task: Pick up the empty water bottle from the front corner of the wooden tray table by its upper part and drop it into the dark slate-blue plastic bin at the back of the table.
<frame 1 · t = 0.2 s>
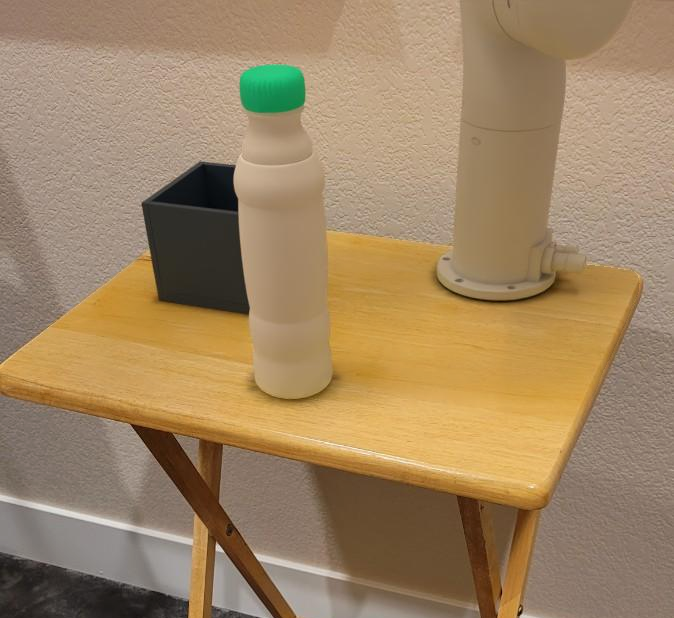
water bottle: (294, 383, 80), on the table
bin: (237, 283, 95), on the table
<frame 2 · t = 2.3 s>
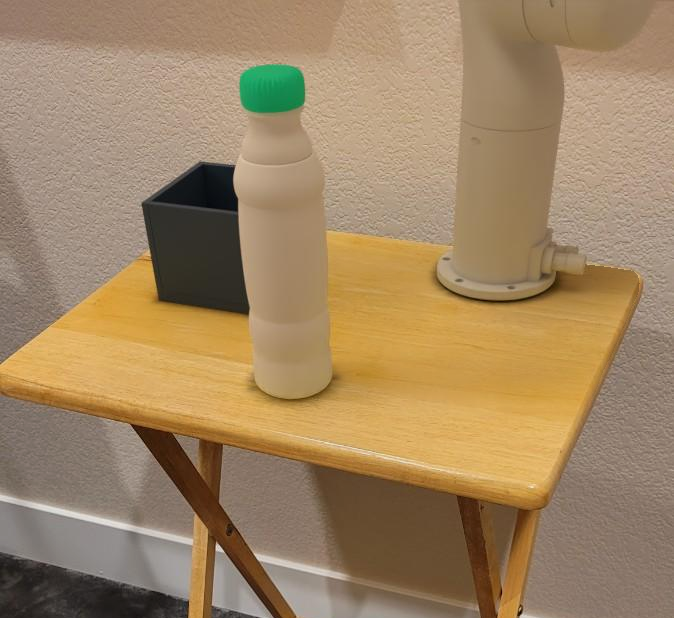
nothing on the table moved.
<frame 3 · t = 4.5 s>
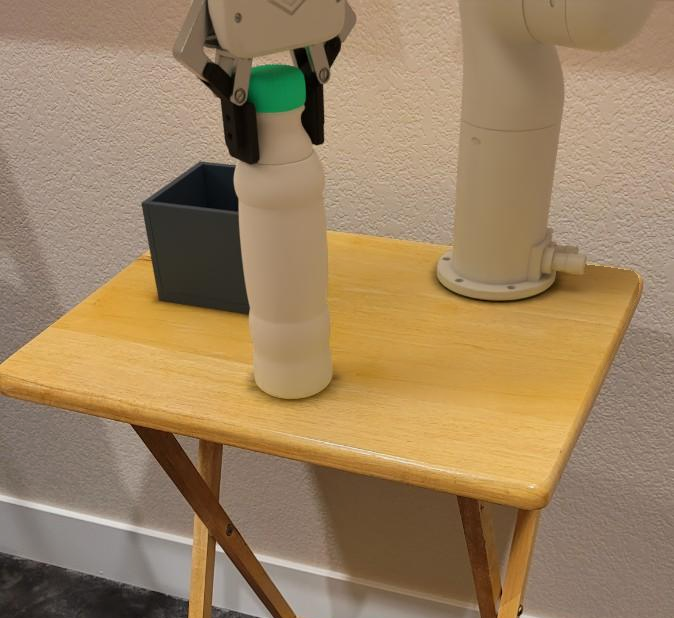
hand: (276, 147, 66), 20 cm above the table, tool pointing down, fingers closed on water bottle, 5 cm apart
water bottle: (294, 383, 80), on the table, touching gripper
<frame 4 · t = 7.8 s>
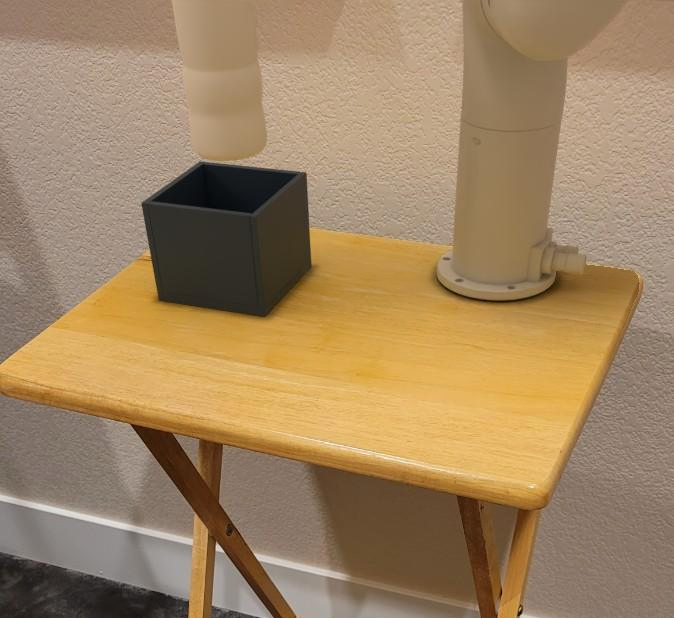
water bottle: (230, 152, 83), point 14 cm above the table, touching gripper
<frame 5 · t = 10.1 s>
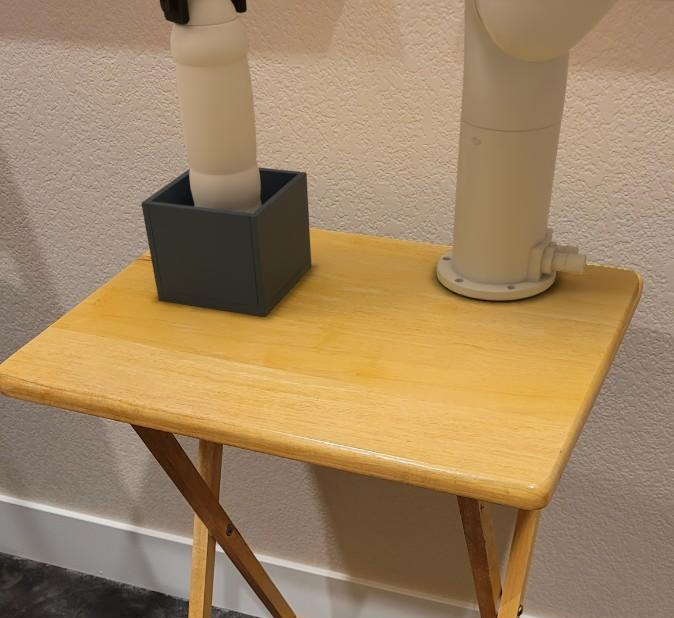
hand: (206, 13, 78), 25 cm above the table, tool pointing down, fingers closed on water bottle, 5 cm apart
water bottle: (231, 240, 92), point 5 cm above the table, touching gripper
when the fingers open (21 cm above the table, at t = 11.5 s): water bottle stays where it is, resting on bin.
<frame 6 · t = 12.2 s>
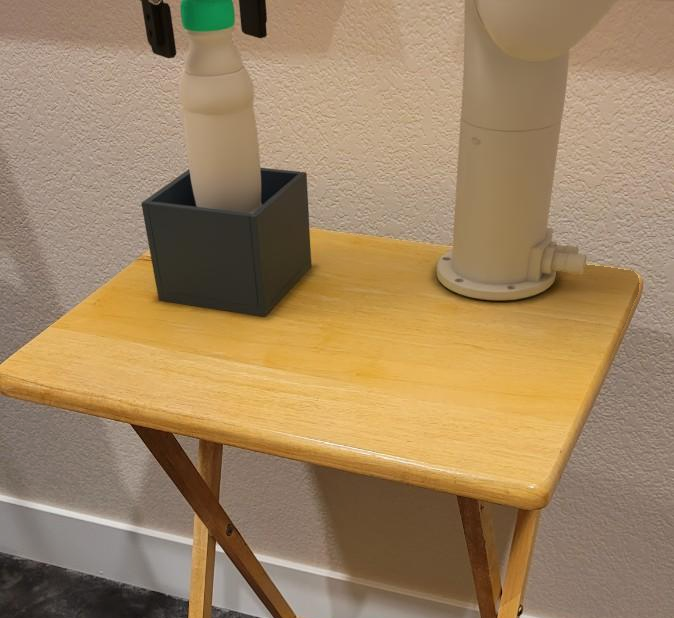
hand: (210, 45, 80), 22 cm above the table, tool pointing down, fingers open, 9 cm apart
water bottle: (236, 276, 95), point 1 cm above the table, touching bin
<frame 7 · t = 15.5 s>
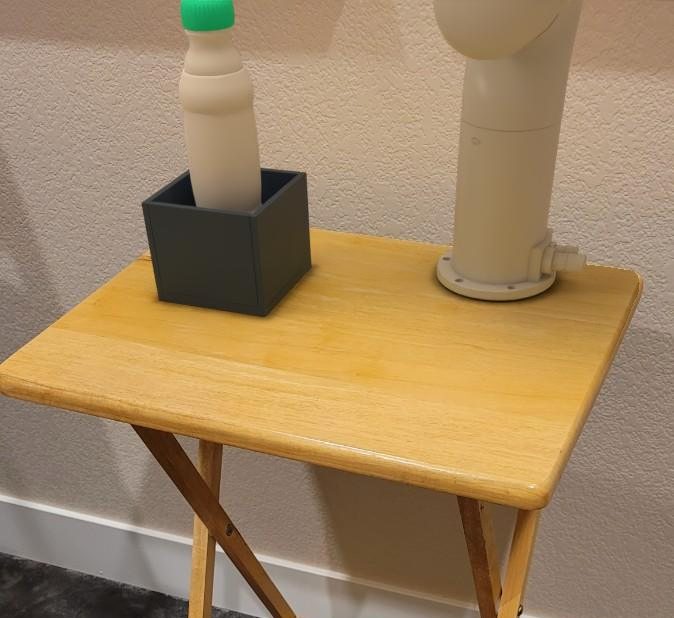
nothing on the table moved.
at the end: water bottle inside the target area in the bin (0.1 cm from its centre), point 0.8 cm above the bin's base; the gripper is holding nothing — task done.
